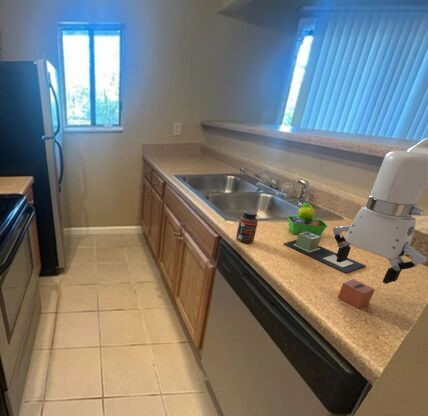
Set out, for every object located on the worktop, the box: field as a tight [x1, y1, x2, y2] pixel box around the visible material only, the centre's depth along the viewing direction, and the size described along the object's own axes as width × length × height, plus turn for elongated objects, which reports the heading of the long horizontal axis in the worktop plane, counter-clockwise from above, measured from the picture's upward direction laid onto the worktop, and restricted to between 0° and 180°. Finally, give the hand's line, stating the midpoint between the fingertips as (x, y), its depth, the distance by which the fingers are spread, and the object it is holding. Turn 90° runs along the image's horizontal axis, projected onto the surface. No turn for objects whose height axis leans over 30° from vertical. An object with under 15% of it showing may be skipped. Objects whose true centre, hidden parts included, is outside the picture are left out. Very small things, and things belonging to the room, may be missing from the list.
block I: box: [337, 278, 376, 309], centre depth 71 cm, size 5×5×5 cm
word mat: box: [282, 239, 366, 274], centre depth 93 cm, size 20×10×1 cm, turn 22°
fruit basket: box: [287, 202, 328, 237], centre depth 107 cm, size 11×9×11 cm
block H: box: [296, 232, 322, 251], centre depth 96 cm, size 5×5×5 cm
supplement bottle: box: [235, 209, 259, 244], centre depth 101 cm, size 6×6×11 cm
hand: (362, 270), depth 68 cm, fingers open, 9 cm apart
